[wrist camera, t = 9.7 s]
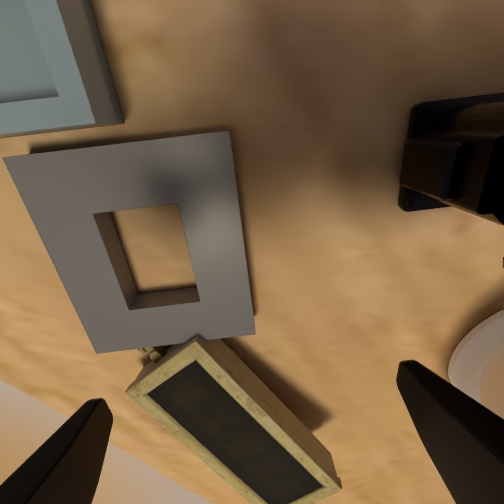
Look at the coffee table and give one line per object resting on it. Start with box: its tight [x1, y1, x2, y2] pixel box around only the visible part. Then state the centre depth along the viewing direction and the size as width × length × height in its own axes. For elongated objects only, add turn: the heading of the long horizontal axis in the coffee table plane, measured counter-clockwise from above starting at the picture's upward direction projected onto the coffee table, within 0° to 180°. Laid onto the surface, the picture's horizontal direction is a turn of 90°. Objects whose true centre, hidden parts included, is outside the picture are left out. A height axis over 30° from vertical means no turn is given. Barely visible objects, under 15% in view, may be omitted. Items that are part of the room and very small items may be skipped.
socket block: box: [3, 130, 256, 354], centre depth 18 cm, size 12×14×2 cm
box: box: [125, 336, 342, 504], centre depth 24 cm, size 8×22×5 cm, turn 41°
